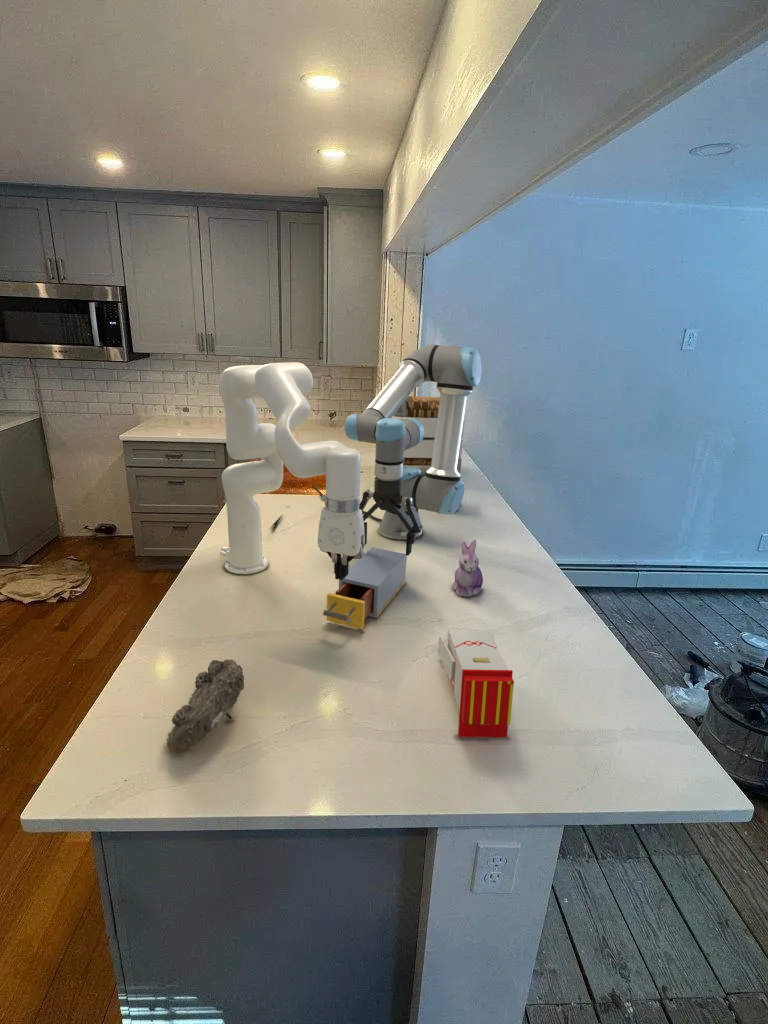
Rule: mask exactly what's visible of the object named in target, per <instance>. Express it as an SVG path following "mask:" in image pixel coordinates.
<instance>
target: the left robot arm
mask: <svg viewBox="0 0 768 1024" xmlns="http://www.w3.org/2000/svg"><path fill="white" fill-rule="evenodd" d="M218 382H219V383H218V385H219V393H220V398H221V400H222V403H223V407H224V413H225V417H224V418H225V441H226V443H225V444H226V451H227V454H228V456H229V457H230V458H231V459H232V460H235V461H244V460H252V459H260V460H255V461H247V462H240V463H239V462H238V463H235V464H231V465H229V466H227V467H226V468H225V469H224V470H223V471H222V474H221V485H222V488H223V492H224V493H223V494H224V497H225V503H226V515H227V533H228V546H222V547H221V549H220V552H219V556H222V557H226V560H225V561H224V569H225V570H226V571H228V572H229V573H232V574H235V575H250V574H251V575H252V574H256V573H259V572H261V571H264V570H265V569H266V568H267V567H268V565H269V562H268V561H269V560H268V559H267V557H265V556H263V537H262V536H263V535H262V533H263V532H262V511H261V508H260V505H259V504H258V503H257V501H256V500H254V497H253V496H256V495H257V496H258V495H261V494H265V493H266V494H267V493H270V492H274V491H277V490H279V489H280V488H281V487H282V485H283V481H284V466H285V467H286V469H287V471H288V472H289V473H290V474H291V475H292V476H294V477H296V478H298V479H307V478H308V479H309V478H312V477H317V476H323V475H324V476H325V495H324V494H323V495H322V496H321V495H320V501H321V502H324V506H323V507H322V508H321V511H320V517H319V522H318V529H317V531H318V532H317V547H318V548H319V550H320V551H321V552H323V553H325V554H327V555H328V556H329V558H330V559H331V562H332V563H333V574H334V580H338V581H339V580H343V579H344V578H345V577H346V576H347V575H348V572H349V568H350V562H351V561H353V560H358V559H361V558H362V557H364V554H365V552H364V548H365V545H364V544H365V532H364V522H365V521H363V515H364V514H363V513H362V510H361V509H359V504H360V495H361V461H362V457H361V454H360V452H359V451H358V450H357V449H355V448H351V447H347V446H346V445H344V444H343V443H342V442H340V441H338V440H333V439H331V440H330V439H329V440H322V441H313V442H307V443H306V442H305V443H298V440H296V438H295V437H294V435H293V433H292V431H294V430H295V429H297V428H299V427H300V426H301V425H302V424H304V422H306V421H307V419H308V417H309V416H310V414H311V405H310V402H309V401H308V400H307V399H306V396H308V395H309V394H310V393H311V392H312V390H313V387H314V378H313V374H312V372H311V370H310V369H309V367H308V366H307V365H306V364H305V363H302V362H298V361H294V362H291V361H289V362H269V363H266V364H259V365H258V364H252V365H251V364H248V365H247V364H246V365H245V364H244V365H235V366H230V367H227V368H225V369H224V370H223V371H222V372H221V374H220V377H219V381H218ZM253 399H263V400H264V401H265V403H266V405H267V407H268V408H269V410H270V411H271V413H272V414H273V416H274V417H275V419H276V420H277V422H276V424H274V423H271V422H264V423H262V422H261V423H258V409H257V406H256V405H255V402H253Z"/></svg>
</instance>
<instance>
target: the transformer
mask: <svg viewBox="0 0 768 1024" xmlns="http://www.w3.org/2000/svg"><path fill="white" fill-rule="evenodd" d="M439 401H440V396H415V395H414V396H413V395H412V396H411V395H409V396H408V397H407V398H406V400H405V401H404V402H403V404H402V405H401V406H400V407H399V409H398V410H397V411H396V412H395V414H394V415H393V416H392V418H394V419H400V420H402V421H404V420H407V419H416V420H418V421H419V422H420V423H421V424H422V425H423V428H424V437H423V439H422V441H421V442H420V443H418V444H417V445H416V446H414V447H411V448H409V449H407V450H405V451H404V455H403V468H404V467H405V466H406V467H410V466H411V467H417V466H418V467H431V462H432V455H433V447H434V439H435V432H436V424H437V417H438V409H439ZM464 429H465V419H464V421H463V428H462V435H461V442H460V449H459V456H458V463H457V471H458V473H459V474H460V475H461V472H462V461H463V460H462V453H463V442H464V441H463V440H462V439H463V438H464V431H465V430H464Z"/></svg>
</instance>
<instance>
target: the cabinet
mask: <svg viewBox="0 0 768 1024" xmlns="http://www.w3.org/2000/svg"><path fill="white" fill-rule="evenodd" d="M407 558H408V556H407V555H406V553H402V552H398V551H392V550H387V549H382V548H378V547H374V546H373V547H370V548H369V549H368V550H367V551H366V552H364V557H362V558H361V559H356V561H355V562H353V564H352V565H350V566H349V572H348V575H347V576H346V577H345V578H344V579H343V580H339V579H338V589H339V588H340V587H341V586H342V585H343V584H344V583H345V582H346V583H350V584H355V585H359V586H364V587H368V588H372V589H374V608H373V610H372V612H371V613H370V614H369V615H368V616H367V617H371V618H375V619H378V618H379V616H380V615H381V614H382V612H383V611H384V610H385V609H386V608H387V606H388V605H389V604H390V603H391V601H392V600H393V599H394V598H395V596H396V595H397V594H398V593H399V592H400V590H401V589H402V588H403V587H404V585H405V584H406V575H407V574H406V572H407Z"/></svg>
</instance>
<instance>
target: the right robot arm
mask: <svg viewBox="0 0 768 1024" xmlns="http://www.w3.org/2000/svg"><path fill="white" fill-rule="evenodd" d="M481 378H482V359H481V355H480V353H479V352H478V350H477V349H476V348H474V347H468V346H459V345H458V346H455V345H441V344H440V345H438V344H429V345H425V346H422V347H419V348H418V349H416V350H414V351H412V352H411V353H409V354H407V356H405V357H404V358H403V359H402V360H401V362H399V364H398V365H397V368H396V373H394V374H393V376H392V377H391V378H390V379H389V380H388V382H387V383H386V384H385V385H384V387H382V389H381V390H380V391H379V393H378V394H377V395H376V396H375V398H374V399H373V400H372V401H371V402H370V403H369V405H368V406H367V407H366V408H365V409H364V410H363V412H362V413H361V414H359V413H352V414H349V415H348V416H347V418H346V419H345V423H344V432H345V435H346V437H347V438H348V439H349V440H352V441H356V442H359V443H360V442H362V443H368V444H375V452H374V453H375V457H374V476H375V477H374V480H373V481H374V483H373V491H371V490H370V489H366V490H365V491H364V492H363V493H362V497H361V498H362V499H361V501H360V502H359V509H361V510H362V515H363V521H364V532H365V544H364V546H366V545H367V544H368V521H366V520H368V519H369V518H371V519H372V520H374V521H378V522H379V527H378V533H379V534H380V535H381V536H382V537H385V538H387V539H389V540H395V541H405V554H406V555H407V557H408V556H410V554H411V553H412V549H413V545H414V544H415V542H416V539H418V538H420V537H421V536H422V535H423V529H424V527H423V524H422V523H421V518H420V515H419V510H421V511H422V510H423V511H427V512H433V513H437V514H439V515H442V514H443V515H453V514H455V513H456V512H457V511H458V509H459V508H460V507H459V506H460V504H461V505H462V502H463V499H464V495H465V489H466V487H465V483H464V482H463V481H462V480H461V474H459V473H458V471H457V463H458V456H459V449H460V442H461V440H462V438H461V435H462V428H463V421H464V420H465V413H466V406H467V399H468V397H469V396H470V394H472V393H473V389H474V388H475V387H477V386H478V385H479V384H480V383H481ZM425 382H432V383H436V389H437V391H438V392H439V397H440V401H439V409H438V417H437V424H436V432H435V439H434V447H433V455H432V462H431V465H430V466H429V468H427V469H426V470H425V474H422V470H421V468H419V467H415V466H411V467H410V466H406V467H405V466H404V468H403V455H404V451H405V450H407V449H409V448H411V447H414V446H416V445H417V444H418V443H420V442H421V441H422V439H423V437H424V428H423V425H422V424H421V423H420V422H419V421H418V420H416V419H407V420H404V421H402V420H400V419H394V418H392V416H393V415H394V414H395V412H396V411H397V410H398V409H399V407H400V406H401V405H402V404H403V402H404V401H405V400H406V398H407V397H408V396H411V393H412V392H413V391H414V390H415V389H416V388H418V387H420V386H422V384H424V383H425ZM464 422H465V421H464ZM311 488H313V490H315V491H316V492H317V493H318V494H319V495H320V497H321V496H322V495H324V494H323V493H322V492H321V491H320V490H319V489H318V488H317V487H316V486H315V485H314V484H311ZM371 499H373V501H374V502H375V503H374V504H373V505H372V506H371V507H370V508H369V509H368V510H367V511H365V510H364V509H365V507H366V506H367V504H368V502H369V500H371ZM461 501H462V502H461ZM377 509H380V510H381V511H384V513H383V515H382V518H378V517H376V516H375V515H372V514H373V513H374V512H375V511H376V510H377Z"/></svg>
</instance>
